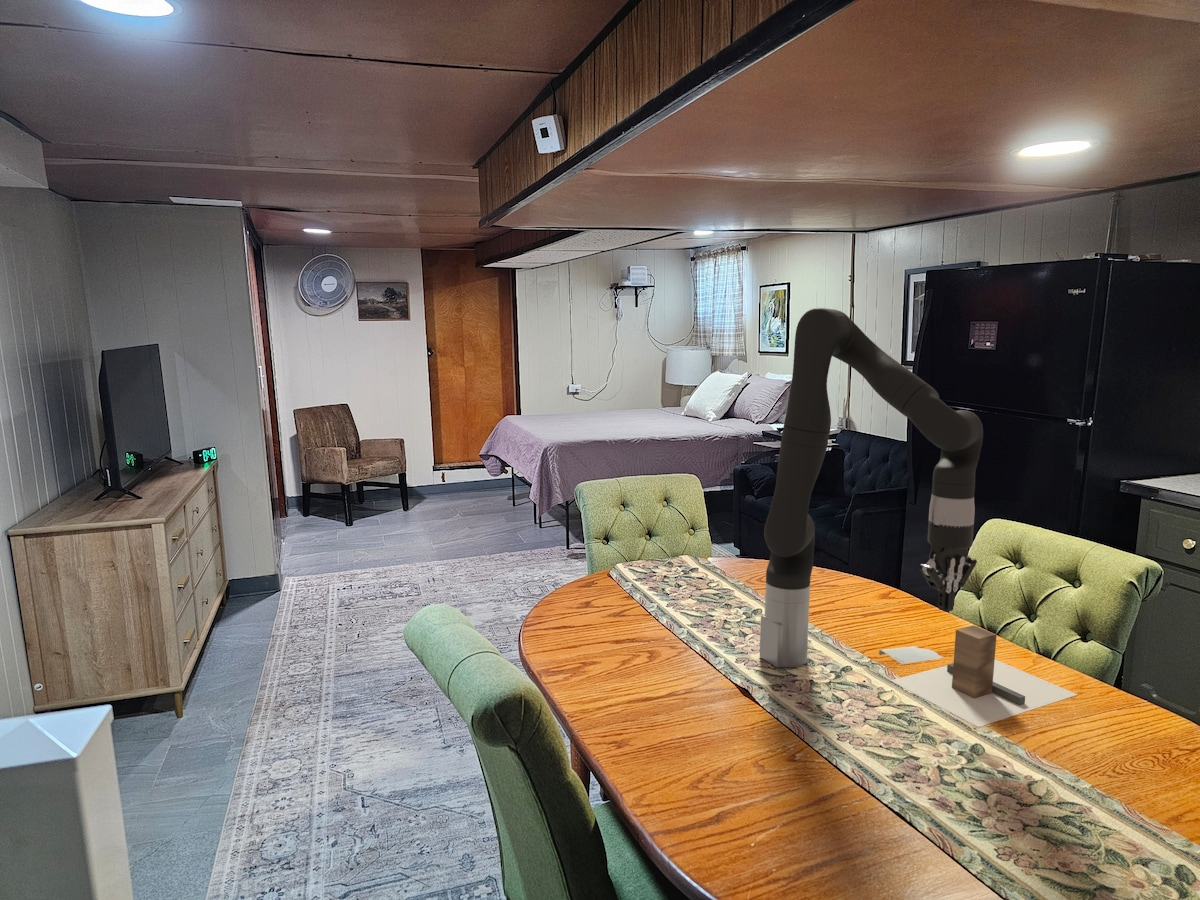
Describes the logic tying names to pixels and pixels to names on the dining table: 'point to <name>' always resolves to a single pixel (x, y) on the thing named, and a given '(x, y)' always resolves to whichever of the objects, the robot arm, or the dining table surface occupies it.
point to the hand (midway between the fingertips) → (945, 610)
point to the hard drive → (910, 654)
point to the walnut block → (974, 661)
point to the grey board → (1006, 699)
